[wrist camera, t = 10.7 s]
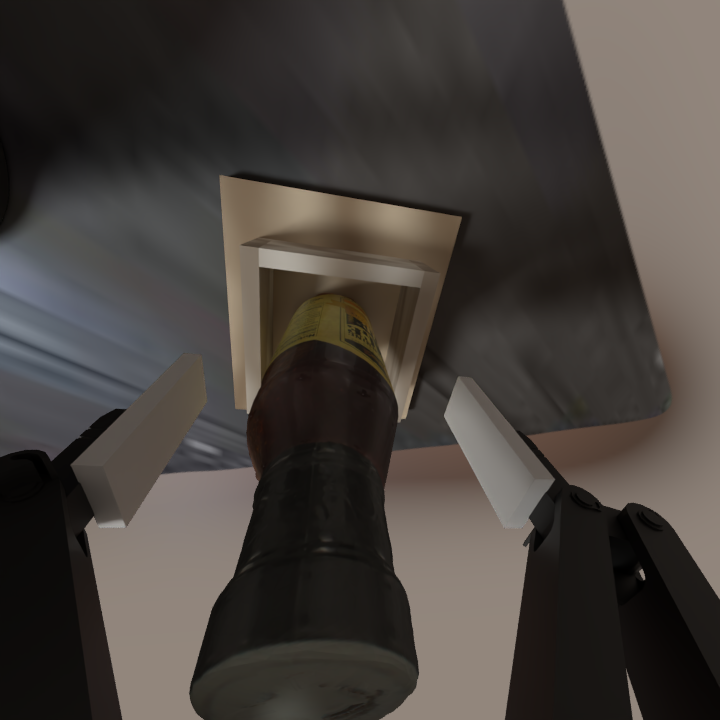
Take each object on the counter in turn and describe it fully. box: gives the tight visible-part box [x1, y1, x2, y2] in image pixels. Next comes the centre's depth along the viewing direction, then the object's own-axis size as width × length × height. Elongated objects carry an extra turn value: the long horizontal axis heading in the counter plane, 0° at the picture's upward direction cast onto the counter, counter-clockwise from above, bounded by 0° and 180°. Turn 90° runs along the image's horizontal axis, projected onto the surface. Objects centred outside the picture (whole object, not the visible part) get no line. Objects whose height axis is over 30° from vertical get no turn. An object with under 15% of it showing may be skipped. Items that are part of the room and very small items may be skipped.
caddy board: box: [219, 175, 462, 422], centre depth 21 cm, size 16×18×6 cm
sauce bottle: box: [189, 293, 419, 720], centre depth 14 cm, size 6×6×20 cm
